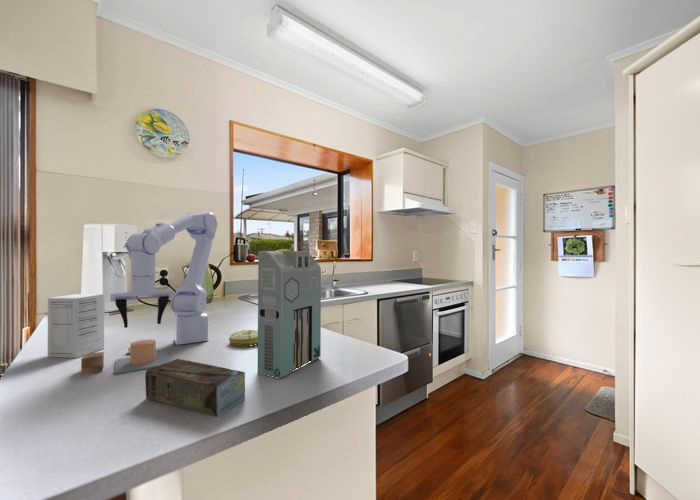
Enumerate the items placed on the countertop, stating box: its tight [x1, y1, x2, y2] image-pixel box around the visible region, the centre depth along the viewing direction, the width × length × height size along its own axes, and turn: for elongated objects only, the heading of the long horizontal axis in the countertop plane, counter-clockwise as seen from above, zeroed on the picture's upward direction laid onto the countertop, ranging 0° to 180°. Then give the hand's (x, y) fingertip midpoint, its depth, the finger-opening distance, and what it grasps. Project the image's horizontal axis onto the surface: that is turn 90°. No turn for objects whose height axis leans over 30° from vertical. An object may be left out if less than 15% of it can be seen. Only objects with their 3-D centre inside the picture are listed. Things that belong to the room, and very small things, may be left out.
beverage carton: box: [144, 358, 246, 418], centre depth 64 cm, size 8×19×7 cm, turn 68°
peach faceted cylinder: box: [129, 339, 157, 365], centre depth 85 cm, size 6×6×5 cm
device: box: [257, 250, 322, 379], centre depth 83 cm, size 16×8×30 cm, turn 151°
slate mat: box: [113, 351, 171, 376], centre depth 85 cm, size 12×12×1 cm
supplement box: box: [47, 293, 105, 359], centre depth 94 cm, size 10×9×17 cm
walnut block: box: [80, 351, 105, 376], centre depth 79 cm, size 4×4×4 cm
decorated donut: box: [228, 329, 258, 347], centre depth 104 cm, size 10×11×4 cm
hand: (142, 325), depth 88 cm, fingers open, 7 cm apart
